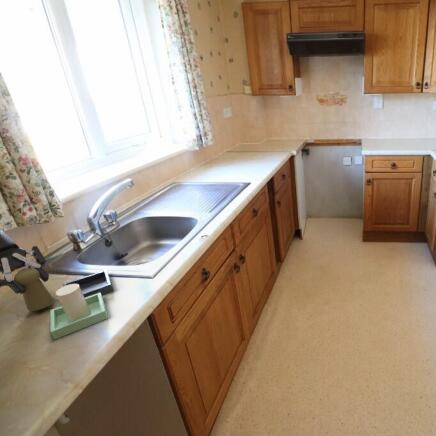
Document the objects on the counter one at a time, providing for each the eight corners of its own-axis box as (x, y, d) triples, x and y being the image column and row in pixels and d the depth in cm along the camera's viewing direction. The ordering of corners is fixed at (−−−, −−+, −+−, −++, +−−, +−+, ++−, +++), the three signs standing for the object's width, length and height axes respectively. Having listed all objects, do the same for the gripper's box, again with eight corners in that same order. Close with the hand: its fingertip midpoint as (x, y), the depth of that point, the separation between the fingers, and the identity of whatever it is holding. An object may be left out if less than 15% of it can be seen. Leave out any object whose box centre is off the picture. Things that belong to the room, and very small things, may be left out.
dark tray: (67, 308, 91) (63, 301, 90) (65, 290, 99) (62, 283, 98) (113, 291, 98) (111, 284, 97) (109, 275, 105) (106, 269, 104)
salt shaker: (69, 325, 84) (55, 298, 80) (68, 315, 88) (55, 288, 84) (92, 316, 87) (79, 289, 83) (90, 307, 90) (78, 281, 87)
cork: (58, 295, 95) (43, 264, 90) (46, 309, 89) (29, 276, 85) (35, 298, 94) (19, 266, 89) (21, 312, 89) (3, 279, 84)
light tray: (54, 339, 80) (50, 332, 79) (53, 317, 88) (50, 310, 87) (108, 318, 87) (105, 310, 86) (103, 299, 94) (100, 292, 93)
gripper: (-46, 247, 79) (6, 295, 80) (21, 223, 91) (65, 265, 92) (-47, 262, 83) (2, 308, 84) (18, 237, 95) (60, 277, 96)
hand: (35, 285), depth 88 cm, fingers closed on cork, 5 cm apart
